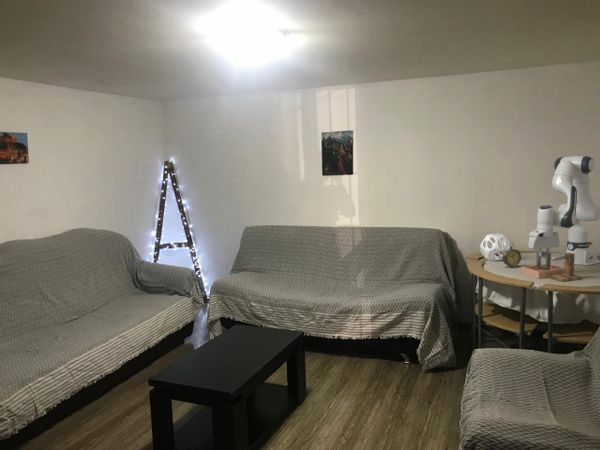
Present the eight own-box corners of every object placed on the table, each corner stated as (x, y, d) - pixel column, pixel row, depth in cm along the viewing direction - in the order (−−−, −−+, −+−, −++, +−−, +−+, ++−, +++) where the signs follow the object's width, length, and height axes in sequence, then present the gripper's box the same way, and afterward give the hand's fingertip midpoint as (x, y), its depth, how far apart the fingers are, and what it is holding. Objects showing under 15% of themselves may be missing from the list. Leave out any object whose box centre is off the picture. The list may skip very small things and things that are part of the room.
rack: (566, 275, 284) (567, 251, 282) (581, 279, 275) (582, 254, 273) (544, 278, 279) (545, 254, 277) (558, 282, 270) (559, 257, 268)
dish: (546, 269, 298) (546, 263, 298) (565, 274, 285) (565, 268, 285) (520, 273, 292) (521, 266, 292) (538, 278, 279) (539, 271, 278)
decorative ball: (502, 256, 341) (503, 231, 338) (515, 262, 321) (516, 236, 319) (474, 257, 340) (475, 232, 338) (486, 263, 320) (487, 237, 318)
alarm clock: (505, 268, 304) (506, 243, 302) (500, 266, 310) (501, 242, 307) (521, 267, 307) (522, 242, 304) (515, 265, 312) (516, 241, 309)
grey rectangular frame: (539, 267, 292) (539, 250, 291) (550, 270, 285) (551, 253, 283) (536, 267, 292) (536, 251, 290) (547, 270, 284) (547, 253, 282)
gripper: (553, 230, 291) (552, 253, 293) (527, 233, 285) (526, 256, 287) (562, 232, 285) (561, 254, 287) (535, 234, 279) (534, 258, 281)
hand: (543, 255), depth 287 cm, fingers closed on grey rectangular frame, 2 cm apart
